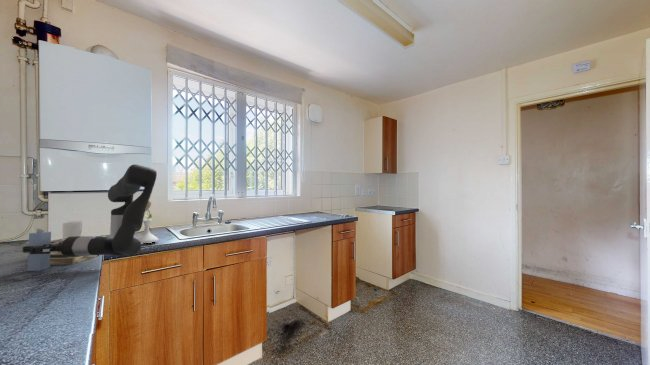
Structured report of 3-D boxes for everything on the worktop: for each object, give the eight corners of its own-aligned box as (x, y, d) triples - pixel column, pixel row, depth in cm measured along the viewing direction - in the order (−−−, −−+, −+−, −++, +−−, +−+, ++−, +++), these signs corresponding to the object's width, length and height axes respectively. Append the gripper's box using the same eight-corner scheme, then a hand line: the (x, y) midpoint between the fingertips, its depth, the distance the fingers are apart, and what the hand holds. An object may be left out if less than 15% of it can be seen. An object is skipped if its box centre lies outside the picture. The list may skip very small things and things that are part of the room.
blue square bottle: (38, 267, 99) (40, 227, 100) (49, 267, 99) (51, 227, 100) (27, 271, 95) (29, 229, 96) (39, 270, 95) (41, 229, 96)
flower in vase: (133, 243, 146) (134, 200, 147) (156, 241, 154) (157, 200, 155) (135, 247, 137) (137, 200, 138) (160, 244, 144) (161, 200, 145)
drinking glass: (66, 251, 126) (67, 221, 126) (83, 250, 128) (85, 220, 129) (57, 254, 119) (59, 222, 120) (76, 253, 122) (77, 222, 122)
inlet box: (70, 256, 116) (71, 236, 117) (98, 255, 118) (99, 236, 118) (39, 265, 103) (40, 242, 103) (72, 264, 104) (73, 242, 104)
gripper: (96, 233, 106) (53, 234, 105) (65, 239, 92) (15, 240, 90) (95, 251, 106) (52, 252, 104) (64, 260, 92) (14, 261, 90)
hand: (35, 246), depth 97 cm, fingers open, 8 cm apart
